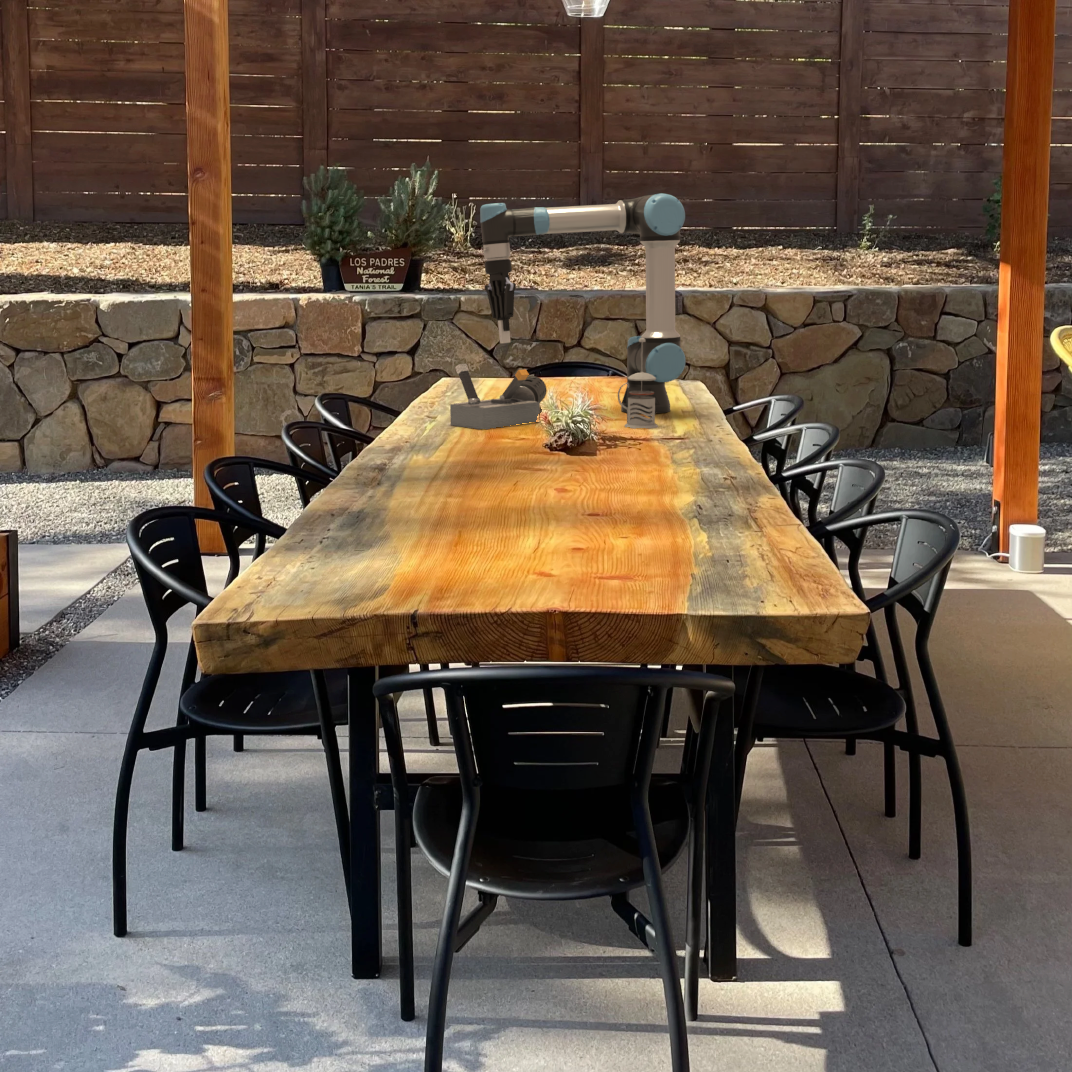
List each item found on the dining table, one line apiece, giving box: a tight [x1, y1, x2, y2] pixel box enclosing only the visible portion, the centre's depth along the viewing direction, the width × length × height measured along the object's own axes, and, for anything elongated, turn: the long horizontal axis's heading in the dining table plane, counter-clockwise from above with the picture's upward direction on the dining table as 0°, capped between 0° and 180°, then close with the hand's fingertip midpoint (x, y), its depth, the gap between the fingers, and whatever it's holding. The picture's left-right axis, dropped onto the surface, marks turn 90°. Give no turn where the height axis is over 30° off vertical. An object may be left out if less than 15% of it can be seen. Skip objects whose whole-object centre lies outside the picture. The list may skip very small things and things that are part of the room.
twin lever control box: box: [449, 363, 541, 430], centre depth 391 cm, size 22×14×18 cm, turn 133°
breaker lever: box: [499, 369, 530, 401], centre depth 391 cm, size 3×2×12 cm
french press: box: [617, 338, 659, 430], centre depth 384 cm, size 10×12×25 cm
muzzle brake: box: [511, 375, 548, 403], centre depth 418 cm, size 10×28×10 cm, turn 174°
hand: (505, 342), depth 391 cm, fingers closed
